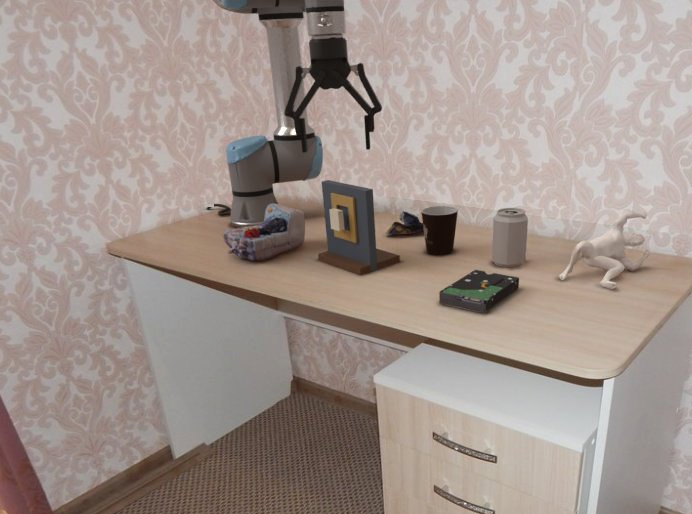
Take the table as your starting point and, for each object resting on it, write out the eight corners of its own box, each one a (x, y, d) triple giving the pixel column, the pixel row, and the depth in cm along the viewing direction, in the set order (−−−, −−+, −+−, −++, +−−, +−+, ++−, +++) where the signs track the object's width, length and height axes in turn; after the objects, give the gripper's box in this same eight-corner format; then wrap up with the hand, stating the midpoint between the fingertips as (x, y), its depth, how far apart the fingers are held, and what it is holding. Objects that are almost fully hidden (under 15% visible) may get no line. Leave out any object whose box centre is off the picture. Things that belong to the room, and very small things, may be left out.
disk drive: (474, 281, 133) (438, 304, 122) (474, 269, 131) (438, 291, 121) (519, 290, 127) (486, 314, 117) (520, 276, 126) (486, 300, 115)
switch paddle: (339, 231, 139) (337, 211, 137) (331, 228, 142) (329, 209, 139) (344, 229, 140) (342, 210, 138) (335, 227, 142) (334, 208, 140)
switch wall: (360, 275, 139) (354, 193, 131) (318, 260, 150) (310, 183, 141) (400, 261, 146) (397, 183, 137) (357, 248, 157) (351, 174, 148)
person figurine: (608, 239, 119) (646, 202, 129) (549, 242, 127) (588, 208, 138) (619, 300, 124) (655, 260, 134) (562, 299, 133) (599, 262, 143)
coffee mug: (455, 257, 147) (455, 215, 142) (419, 256, 149) (418, 215, 144) (460, 242, 157) (460, 202, 152) (426, 242, 159) (426, 202, 154)
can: (526, 258, 144) (529, 206, 138) (523, 269, 138) (527, 215, 132) (494, 257, 146) (495, 205, 140) (489, 267, 140) (491, 214, 134)
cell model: (309, 204, 154) (244, 224, 142) (314, 246, 160) (252, 269, 147) (275, 197, 162) (210, 216, 149) (281, 237, 167) (219, 259, 155)
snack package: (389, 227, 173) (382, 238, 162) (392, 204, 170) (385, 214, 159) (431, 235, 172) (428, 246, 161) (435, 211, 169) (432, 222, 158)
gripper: (261, 41, 121) (275, 155, 131) (389, 34, 120) (394, 150, 130) (268, 40, 127) (282, 149, 137) (390, 34, 126) (395, 144, 136)
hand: (336, 150), depth 134 cm, fingers open, 13 cm apart
